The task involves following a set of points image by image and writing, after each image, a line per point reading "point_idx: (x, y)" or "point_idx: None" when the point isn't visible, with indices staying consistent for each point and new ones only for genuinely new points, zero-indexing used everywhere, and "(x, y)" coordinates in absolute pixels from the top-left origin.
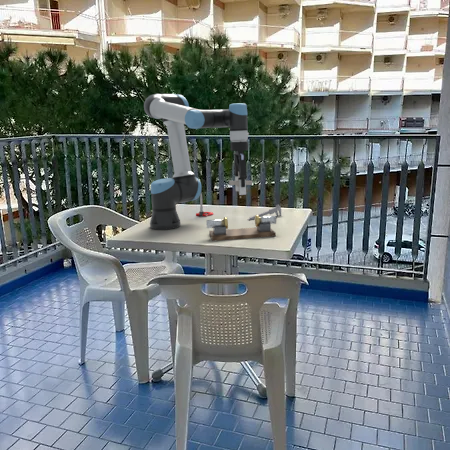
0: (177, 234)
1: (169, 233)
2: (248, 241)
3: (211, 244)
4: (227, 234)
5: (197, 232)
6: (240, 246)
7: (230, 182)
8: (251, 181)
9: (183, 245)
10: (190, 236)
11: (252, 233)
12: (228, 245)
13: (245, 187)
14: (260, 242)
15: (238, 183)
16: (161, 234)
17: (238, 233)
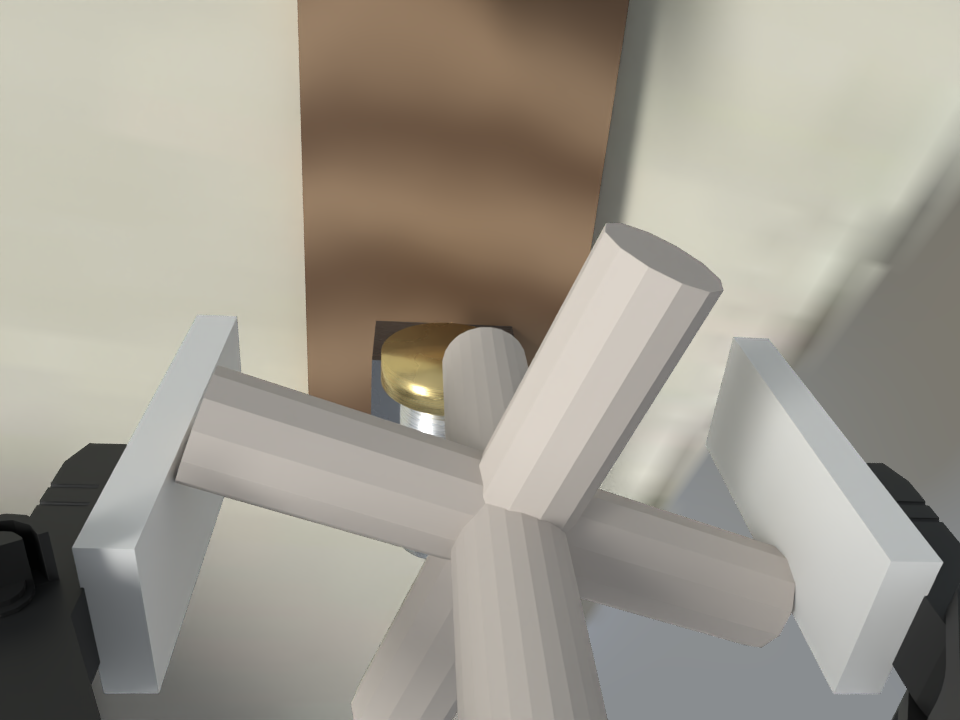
0: (261, 631)
1: (213, 675)
2: (720, 140)
3: (659, 448)
4: (513, 314)
5: (230, 503)
6: (835, 250)
7: (452, 716)
8: (710, 296)
9: (594, 610)
10: (354, 558)
11: (578, 56)
12: (753, 336)
13: (831, 432)
14: (815, 30)
15: (768, 620)
16: (232, 716)
17: (515, 205)
